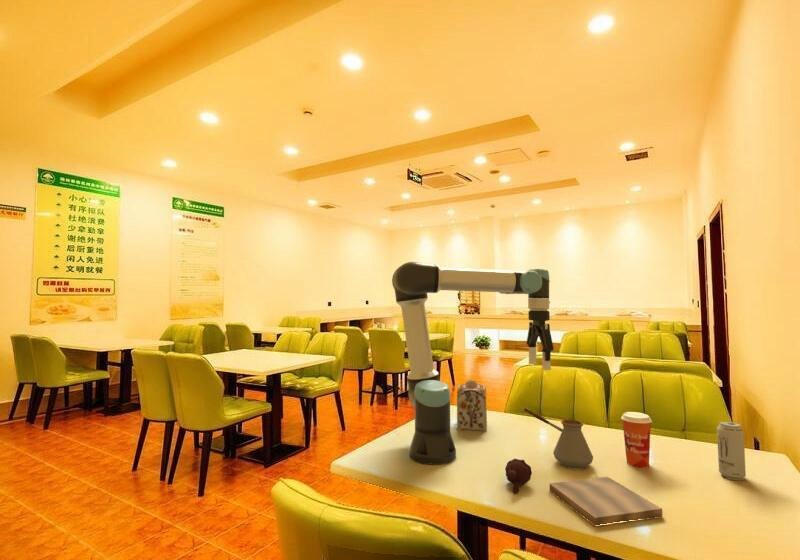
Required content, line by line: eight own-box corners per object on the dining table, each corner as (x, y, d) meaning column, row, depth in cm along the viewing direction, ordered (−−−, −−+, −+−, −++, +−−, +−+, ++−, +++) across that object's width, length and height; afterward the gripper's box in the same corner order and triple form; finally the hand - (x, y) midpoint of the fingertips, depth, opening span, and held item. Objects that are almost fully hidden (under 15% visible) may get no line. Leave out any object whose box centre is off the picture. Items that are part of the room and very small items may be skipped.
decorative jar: (458, 421, 174) (458, 378, 175) (486, 422, 172) (486, 379, 173) (456, 429, 162) (456, 383, 163) (486, 431, 160) (486, 384, 161)
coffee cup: (619, 464, 128) (617, 415, 128) (626, 456, 134) (625, 409, 135) (650, 471, 122) (648, 420, 123) (656, 463, 128) (654, 414, 129)
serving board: (595, 526, 93) (595, 517, 93) (549, 490, 110) (549, 483, 110) (662, 517, 96) (662, 508, 97) (607, 484, 114) (607, 476, 114)
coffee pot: (596, 462, 129) (595, 414, 130) (589, 475, 120) (587, 422, 121) (529, 448, 142) (528, 404, 142) (517, 459, 132) (516, 411, 133)
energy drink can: (713, 472, 121) (711, 421, 122) (731, 471, 122) (729, 420, 123) (732, 481, 115) (730, 427, 116) (751, 480, 116) (749, 426, 117)
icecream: (507, 449, 123) (494, 472, 110) (532, 447, 120) (521, 470, 107) (514, 472, 123) (502, 498, 109) (539, 471, 119) (529, 497, 106)
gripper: (563, 310, 143) (563, 372, 142) (536, 309, 168) (536, 362, 167) (541, 310, 142) (542, 372, 141) (518, 309, 167) (518, 361, 166)
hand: (539, 367), depth 154 cm, fingers open, 13 cm apart
